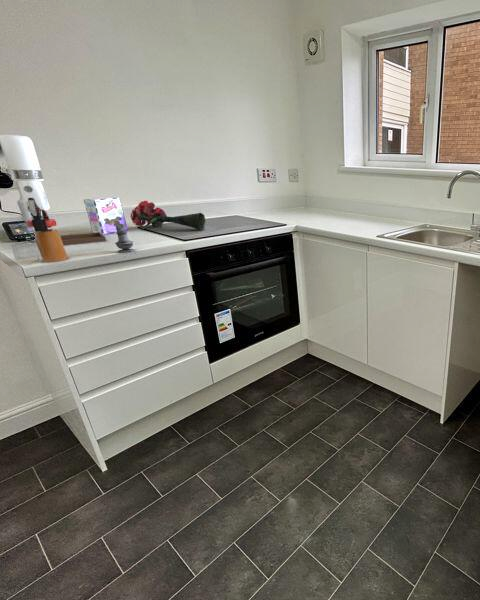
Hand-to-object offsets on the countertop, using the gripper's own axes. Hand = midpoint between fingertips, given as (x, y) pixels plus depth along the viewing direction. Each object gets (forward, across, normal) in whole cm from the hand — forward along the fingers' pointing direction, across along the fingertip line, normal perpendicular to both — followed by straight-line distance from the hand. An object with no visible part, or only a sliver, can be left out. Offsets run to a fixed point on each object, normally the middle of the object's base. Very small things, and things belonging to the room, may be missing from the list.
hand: (43, 229), depth 122 cm
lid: (-3, 0, 0) cm, 3 cm away
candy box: (+11, +52, -16) cm, 56 cm away
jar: (+11, 0, -1) cm, 11 cm away
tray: (+11, +34, -6) cm, 36 cm away
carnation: (+11, +51, -41) cm, 66 cm away
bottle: (+12, +43, +9) cm, 45 cm away
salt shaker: (+11, +4, -21) cm, 24 cm away
